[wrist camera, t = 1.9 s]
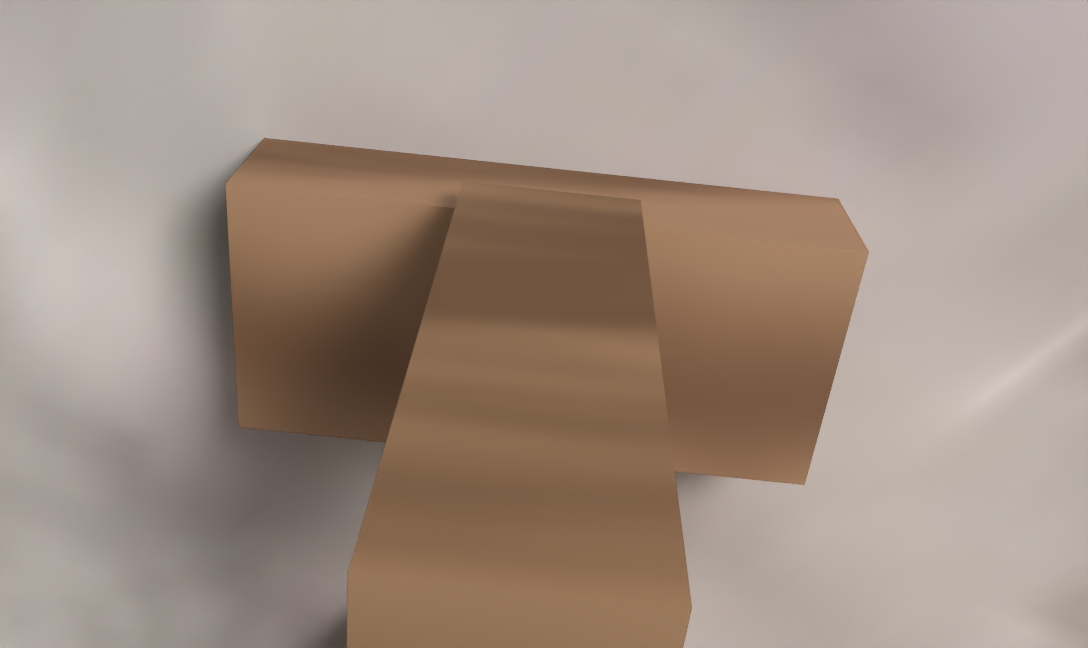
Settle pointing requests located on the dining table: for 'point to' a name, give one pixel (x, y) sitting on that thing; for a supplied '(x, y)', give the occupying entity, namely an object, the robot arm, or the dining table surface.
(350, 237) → the brown wooden t-shaped block
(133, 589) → the dining table surface
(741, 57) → the dining table surface
